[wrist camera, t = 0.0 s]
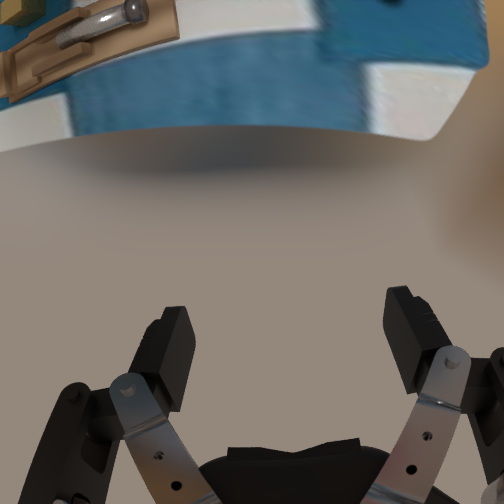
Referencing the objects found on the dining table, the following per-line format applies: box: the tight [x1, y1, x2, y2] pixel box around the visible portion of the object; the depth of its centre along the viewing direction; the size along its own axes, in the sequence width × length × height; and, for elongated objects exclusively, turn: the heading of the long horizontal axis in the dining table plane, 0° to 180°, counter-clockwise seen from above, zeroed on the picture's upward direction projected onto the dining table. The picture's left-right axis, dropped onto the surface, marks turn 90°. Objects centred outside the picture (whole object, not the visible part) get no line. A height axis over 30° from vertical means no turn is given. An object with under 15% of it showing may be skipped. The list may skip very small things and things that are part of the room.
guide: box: [0, 0, 180, 103], centre depth 28 cm, size 9×28×5 cm, turn 98°
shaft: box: [56, 0, 149, 50], centre depth 26 cm, size 4×12×4 cm, turn 98°
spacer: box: [1, 0, 46, 27], centre depth 24 cm, size 4×4×6 cm
